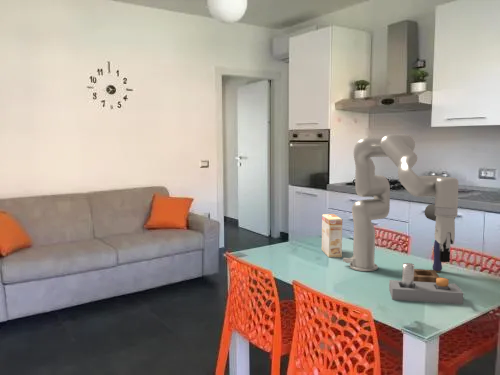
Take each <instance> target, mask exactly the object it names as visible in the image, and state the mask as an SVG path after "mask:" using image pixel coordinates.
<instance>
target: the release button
mask: <svg viewBox="0 0 500 375" xmlns="http://www.w3.org/2000/svg"><path fill="white" fill-rule="evenodd" d="M448 284H449V279H448V278H447V277H440V278H436V289H441V290H448V289H449V287H448Z"/></svg>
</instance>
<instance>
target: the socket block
mask: <svg viewBox="0 0 500 375" xmlns="http://www.w3.org/2000/svg"><path fill="white" fill-rule="evenodd" d="M388 284H389V285H388V286H389V288H388V292H389V294H390V297H391V300H395V301H409V302H410V301H411V302H423V303H424V302H425V303H440V304H451V305H452V304H453V305H454V304H455V305H463V304H464V292H463V291H462V289H461V288H460V287H459V286H458V285H457V283H449V284H448V287H449V289H448V290H441V289H436V283H434V282H416V281H414V286H413V288H402V280H395V279H389V282H388Z"/></svg>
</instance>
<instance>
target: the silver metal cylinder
mask: <svg viewBox="0 0 500 375" xmlns="http://www.w3.org/2000/svg"><path fill="white" fill-rule="evenodd" d="M414 269H415V264H414V263H411V262H405V263H404V262H403V263H402V274H401V275H402V277H401V278H402V279H401V281H402V288H413V286H414Z"/></svg>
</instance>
